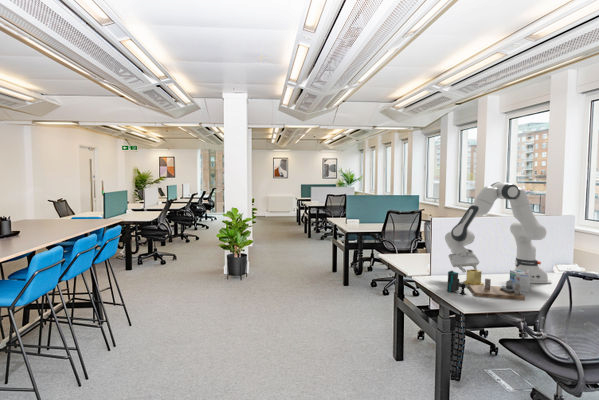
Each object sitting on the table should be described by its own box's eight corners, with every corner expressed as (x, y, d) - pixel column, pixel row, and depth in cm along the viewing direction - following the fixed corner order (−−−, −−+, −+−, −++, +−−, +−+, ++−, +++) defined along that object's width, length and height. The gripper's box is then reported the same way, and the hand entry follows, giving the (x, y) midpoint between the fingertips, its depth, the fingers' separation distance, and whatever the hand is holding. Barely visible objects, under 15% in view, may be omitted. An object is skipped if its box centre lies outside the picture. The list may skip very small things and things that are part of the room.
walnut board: (513, 290, 230) (514, 277, 230) (524, 300, 213) (525, 286, 212) (467, 287, 236) (468, 274, 235) (475, 296, 218) (475, 282, 218)
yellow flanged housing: (473, 281, 249) (474, 268, 249) (486, 286, 239) (487, 272, 239) (460, 282, 246) (461, 269, 245) (473, 287, 236) (474, 273, 235)
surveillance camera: (464, 275, 217) (447, 271, 225) (463, 295, 218) (446, 291, 225) (468, 273, 221) (451, 270, 229) (467, 294, 222) (451, 290, 229)
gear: (515, 289, 227) (516, 278, 227) (521, 293, 218) (522, 282, 218) (497, 287, 229) (498, 277, 229) (502, 292, 220) (503, 281, 220)
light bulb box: (508, 286, 240) (509, 269, 240) (518, 286, 241) (519, 269, 240) (519, 291, 230) (520, 274, 229) (530, 291, 230) (531, 274, 229)
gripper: (450, 251, 247) (460, 269, 239) (474, 250, 254) (485, 268, 246) (444, 256, 252) (454, 275, 243) (469, 255, 259) (479, 273, 250)
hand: (470, 271), depth 245 cm, fingers open, 8 cm apart
